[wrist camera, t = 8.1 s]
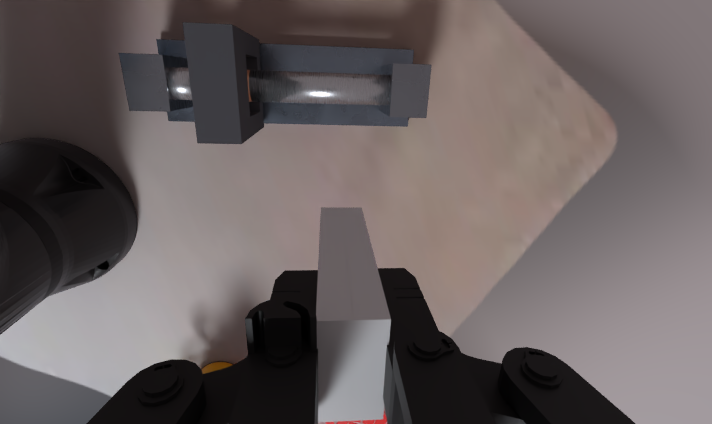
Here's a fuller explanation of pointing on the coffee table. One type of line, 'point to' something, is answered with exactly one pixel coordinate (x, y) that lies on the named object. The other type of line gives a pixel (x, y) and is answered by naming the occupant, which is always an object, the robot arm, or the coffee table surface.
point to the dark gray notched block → (222, 82)
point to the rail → (293, 84)
